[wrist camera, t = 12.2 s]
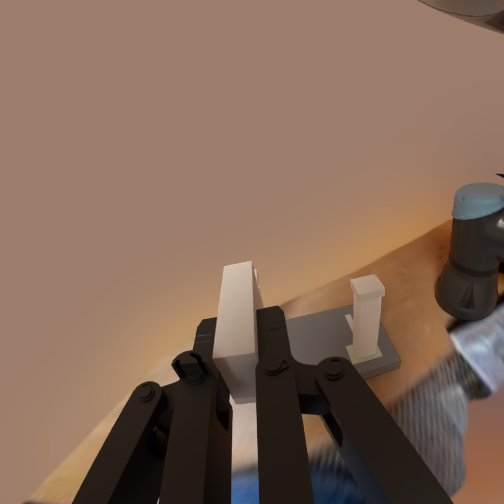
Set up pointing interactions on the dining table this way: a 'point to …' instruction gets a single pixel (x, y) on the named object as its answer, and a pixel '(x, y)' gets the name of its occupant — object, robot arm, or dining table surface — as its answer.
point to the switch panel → (335, 343)
